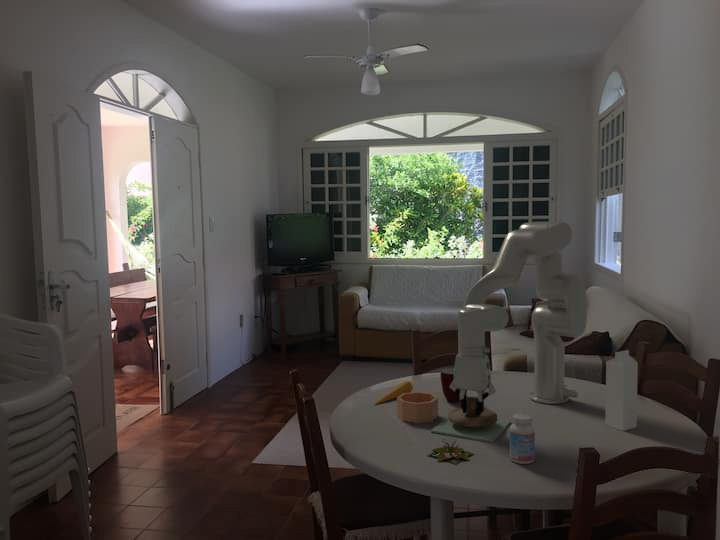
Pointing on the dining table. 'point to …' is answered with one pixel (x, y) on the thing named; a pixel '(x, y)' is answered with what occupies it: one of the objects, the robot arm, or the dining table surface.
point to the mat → (472, 430)
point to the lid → (472, 415)
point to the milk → (621, 391)
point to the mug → (446, 381)
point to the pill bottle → (522, 439)
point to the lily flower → (451, 450)
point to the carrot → (397, 392)
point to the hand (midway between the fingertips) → (472, 412)
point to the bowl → (417, 407)
